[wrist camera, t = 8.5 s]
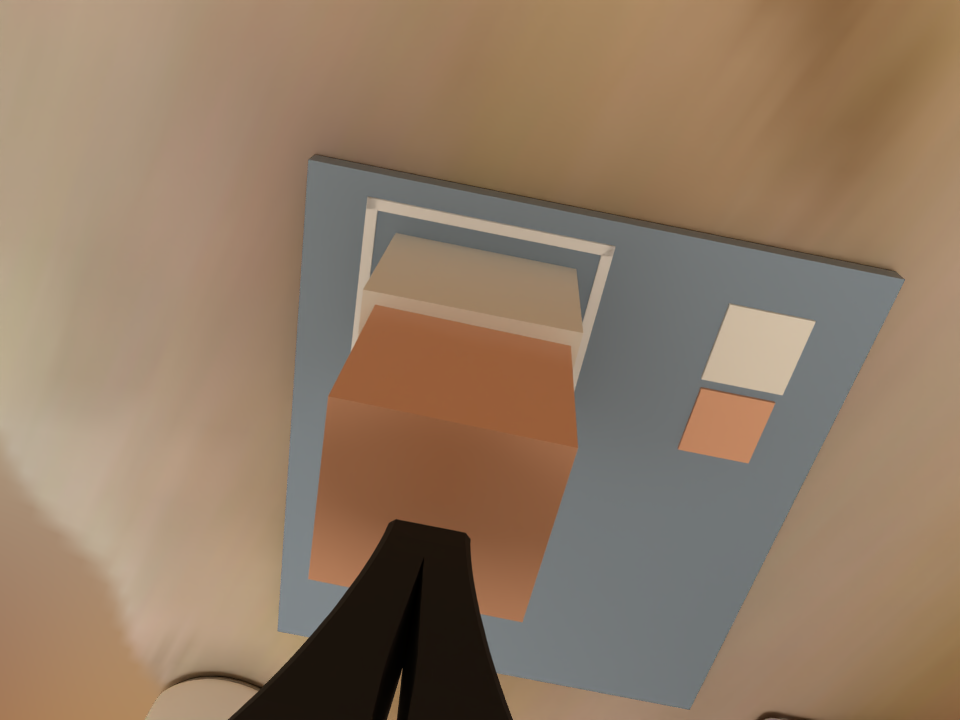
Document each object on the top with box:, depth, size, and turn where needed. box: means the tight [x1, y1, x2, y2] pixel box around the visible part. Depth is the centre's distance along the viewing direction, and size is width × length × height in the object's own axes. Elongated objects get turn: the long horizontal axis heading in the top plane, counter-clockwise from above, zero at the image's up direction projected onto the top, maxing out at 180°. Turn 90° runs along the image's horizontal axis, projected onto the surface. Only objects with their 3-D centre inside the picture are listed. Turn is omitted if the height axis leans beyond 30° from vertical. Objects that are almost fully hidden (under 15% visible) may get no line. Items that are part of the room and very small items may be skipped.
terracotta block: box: [308, 305, 578, 622], centre depth 16 cm, size 4×4×4 cm
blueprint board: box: [278, 155, 905, 710], centre depth 23 cm, size 16×18×1 cm
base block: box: [358, 233, 583, 369], centre depth 19 cm, size 5×5×4 cm
